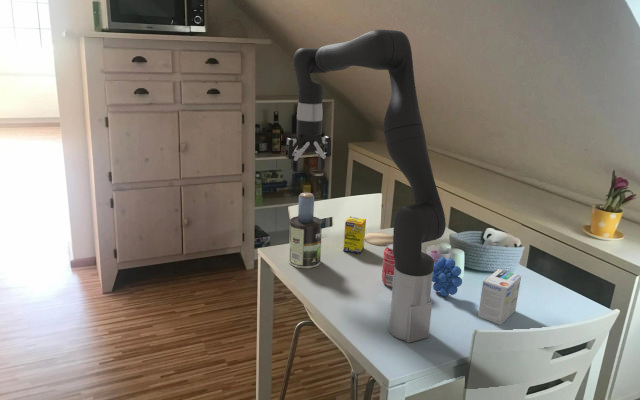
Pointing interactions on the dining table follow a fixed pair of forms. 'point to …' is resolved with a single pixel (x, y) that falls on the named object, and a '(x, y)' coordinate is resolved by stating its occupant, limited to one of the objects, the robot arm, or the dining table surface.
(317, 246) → the coffee can
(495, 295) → the light bulb box
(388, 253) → the soda can
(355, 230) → the supplement box
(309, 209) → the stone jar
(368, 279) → the dining table surface
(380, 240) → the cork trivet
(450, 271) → the grapes
